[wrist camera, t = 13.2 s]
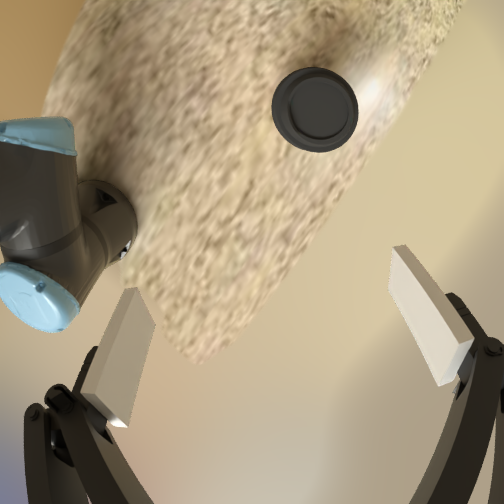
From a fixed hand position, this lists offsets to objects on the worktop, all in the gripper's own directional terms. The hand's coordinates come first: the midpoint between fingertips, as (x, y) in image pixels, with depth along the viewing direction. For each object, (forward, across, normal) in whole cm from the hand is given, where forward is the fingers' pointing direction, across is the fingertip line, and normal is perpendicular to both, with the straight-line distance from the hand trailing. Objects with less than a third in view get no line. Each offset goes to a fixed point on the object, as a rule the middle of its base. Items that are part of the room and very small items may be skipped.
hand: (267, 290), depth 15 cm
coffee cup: (+31, +7, +6) cm, 33 cm away
